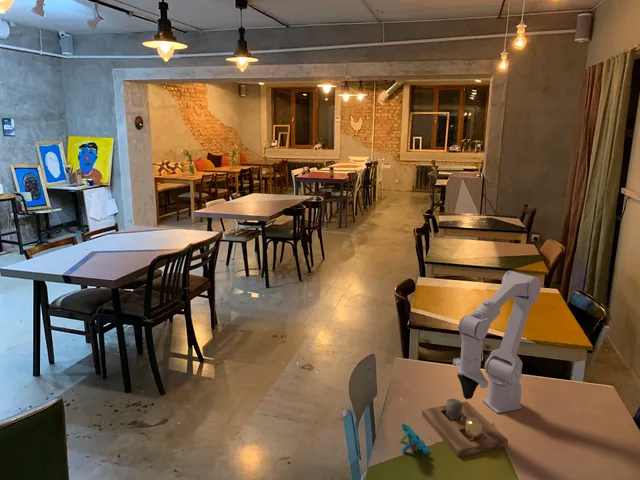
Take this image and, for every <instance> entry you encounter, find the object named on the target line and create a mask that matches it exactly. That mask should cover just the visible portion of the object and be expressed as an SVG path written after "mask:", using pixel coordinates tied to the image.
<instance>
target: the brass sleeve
mask: <svg viewBox="0 0 640 480" xmlns="http://www.w3.org/2000/svg"><path fill="white" fill-rule="evenodd" d="M482 425H483V423H482V421H481V420H479V419H477V418H474V417H470V418H467V419H466V428H465V434H464V437H465V438H466V439H467V440H468V441H469V442H474V441H478V440H482V439H481V436H482Z"/></svg>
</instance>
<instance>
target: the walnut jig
mask: <svg viewBox="0 0 640 480" xmlns="http://www.w3.org/2000/svg"><path fill="white" fill-rule="evenodd" d="M421 411H422V412H421V415H422V417H423V418H424V420H425V421H426V422H427V423H428V424H429V425H430V427H432V428H433V430H434V431H435V432H436V433H437V435H438V436H439V437H440V438H441V439H442V440H443V441H444V443H445V444H446V445H447V447H449V448H450V450H451V451H452V452H453V453H454V454H455V455H456V456H457V457H458V458H459V457H462V456H463V457H464V456H466V455H472V454H477V453H481V452H485V451H490V450H494V449H495V450H496V449H499V448H504V447H508V441H509V440H508V438H507V437H506V436H505V435H504V434H502V433H501V431H499V430H498V429H497V427H495V426H494V425H493V424H492V423H490V422H489V420H488V419H487V418H485V417H484V416H483V415H482V414H481V413H480V412H479V411H478V410H477V409H476V408H475V407H474V406H473V405H472V404H470V403H469V401H463V402H462V401H461V400H460V399H456V398H449V399H447V401H446V405H440V406H436V407H429V408H424V409H422V410H421ZM470 417H474V418H477V419H479V420H481V421H482V423H483V425H482V436H481V440H478V441H474V442H469V441H468V440H467V439H466V438H465V428H466V419H467V418H470Z"/></svg>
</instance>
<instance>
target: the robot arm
mask: <svg viewBox="0 0 640 480" xmlns="http://www.w3.org/2000/svg"><path fill="white" fill-rule="evenodd" d="M541 287H542V284H541V280H540V278H539V277H538V276H533V275H528V274H525V273H521V272H517V271H514V270H508V271H506V272H505V273H504V275H503V276H502V279H501V285H500V287H499V288H498V290H496V292H495V293H494V294H493V296H492V297H491V298H490V299H486V300H483V301H482V302H481V303H480V304H479V306H477V307H476V309H474V310H473V312H471V314H467V315H464V316H463V317H461V319H460V321H459V324H458V327H457V328H458V331H459V334H460V335H459V338H460V340H461V345H460V346H461V348H460V350H461V351H460V358H458V357H457V358H453V360H452V365H453V366H454V367H457V369H456V373H457V374H456V375H457V378H458V380H459V383H460V385H461V391H462V395H463V398H464V399H465V400H469V399H471V400H472V398H473V397H474V393H475V391H476V389H477V388H478V386H479V387H480V388H481V389H486V388H488V396H487V397H484V398H482V399H481V400H482V402H483V403H485V404H486V405H487V406H488V407H489V408H491V409H492V410H493V412H495V413H496V414H500V413H505V412H506V413H507V412H510V411H515V410H519V409H520V410H521V409H522V406H521V400H522V399H521V398H522V384H521V382H520V379H522V378H521V377H522V369H523V365H524V364H523V362H522V360H521V358H520V357H519V356H518V354H517V352H518V349H519V345H520V343H521V340H522V336H523V333H524V331H525V327H526V324H527V323H526V322H527V320H528V317H529V314H530V311H531V307H532V305H533V304H536V303H537V300H538V298H539V295H540V292H541V289H542V288H541ZM511 299H512V300H513V305H512V309H511V310H510V311H511V312H510V314H509V318H508V321H507V324H506V327H505V331H504V334H503V338H502V341H501V344H500V346H499V348H498V349H495V350H492V351H491V352H490V354H489V356H488V358H487V359H486V361H485V364H484V371H485V373H486V374H487V378H489V381H488V379H486V377H485V375H484V373H483V372H482V369H481V366H482V355H483V341H484V338H485V337H486V336H487V335H488V331H489V329H490V327H491V324H492V323H493V322H494V320H495V319H497V318H498V316H499V315H500V314H501V309H500V308H502V307H503V306H504V305H506V303H507V302H509V301H510V300H511Z"/></svg>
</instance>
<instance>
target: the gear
mask: <svg viewBox="0 0 640 480" xmlns="http://www.w3.org/2000/svg"><path fill="white" fill-rule="evenodd" d="M401 429H402V430H403V431H404V435H403V436H402V437H401V439H400V442H401V443H403V442H404V440H406V439H407V441H408V443H407V444H406V445H405V446H404V447H403V448H402V449H401V451H402V452H403V453H404V454H405V453H406V452H407V451H408V450H409V449H410V448H411V447H412V446H415V445H416V446H417V448H418V449H419V450H420V451H421V450H422V453H424V454H425V455H429V454H430V452H431V451H430V450H429V447H428V446H427V445H426V443H425V442H424V440H422V439H421V438H420V436H419V434H418V433H415V431H414V429H412V427H411V426H410V425H409V424H406V423H401Z"/></svg>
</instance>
